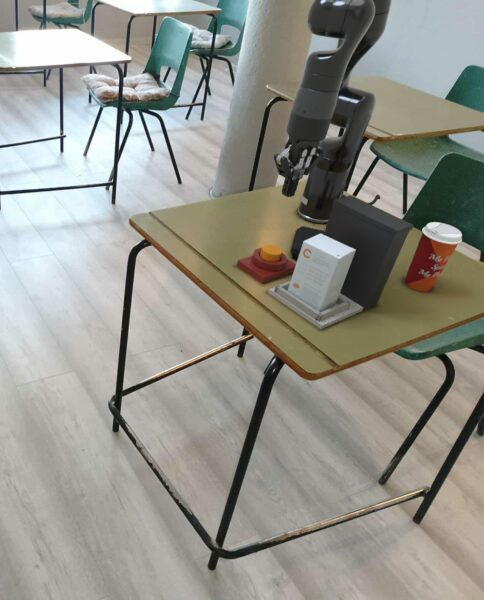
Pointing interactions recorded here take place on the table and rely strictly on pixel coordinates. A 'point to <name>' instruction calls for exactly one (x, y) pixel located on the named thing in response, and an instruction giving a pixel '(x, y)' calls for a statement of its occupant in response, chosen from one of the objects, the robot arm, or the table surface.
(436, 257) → the paper cup
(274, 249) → the button
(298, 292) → the small box
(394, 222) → the coffee dock
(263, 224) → the table surface
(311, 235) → the carrying case
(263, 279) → the button panel
